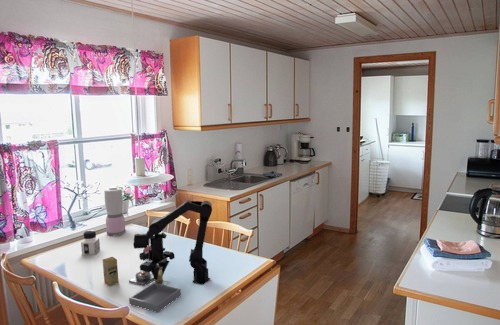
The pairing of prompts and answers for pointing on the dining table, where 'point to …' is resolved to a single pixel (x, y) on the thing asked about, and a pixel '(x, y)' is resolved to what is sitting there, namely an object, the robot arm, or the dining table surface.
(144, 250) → the cupcake
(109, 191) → the blender
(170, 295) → the tray
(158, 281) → the gold cylinder with rim
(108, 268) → the shoe polish box
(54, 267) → the dining table surface
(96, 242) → the container
